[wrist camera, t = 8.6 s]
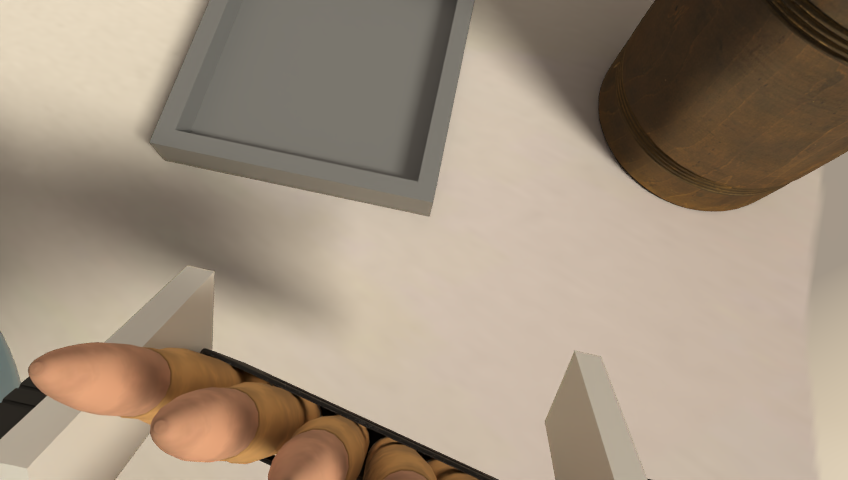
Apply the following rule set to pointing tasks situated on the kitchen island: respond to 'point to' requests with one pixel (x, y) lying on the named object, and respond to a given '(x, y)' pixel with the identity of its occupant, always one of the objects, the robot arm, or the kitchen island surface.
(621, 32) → the kitchen island surface
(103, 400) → the ammunition clip
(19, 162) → the kitchen island surface
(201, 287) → the robot arm
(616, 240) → the kitchen island surface
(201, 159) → the tray
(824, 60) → the wooden container
